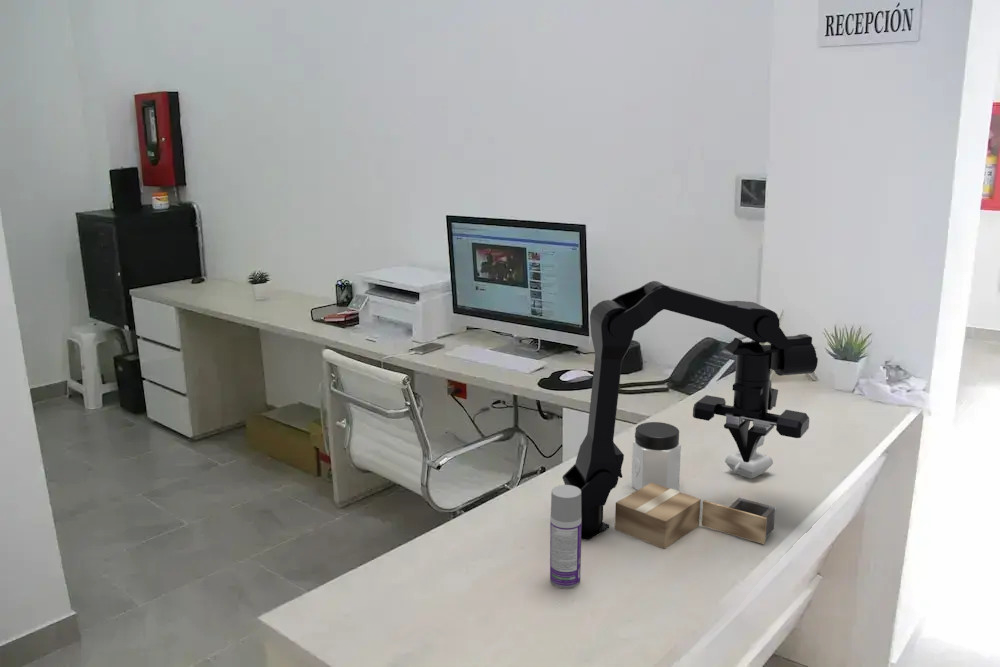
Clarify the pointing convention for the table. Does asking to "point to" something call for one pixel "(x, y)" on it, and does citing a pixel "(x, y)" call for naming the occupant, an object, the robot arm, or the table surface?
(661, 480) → the jar
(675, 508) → the carton
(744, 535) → the flap
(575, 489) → the container
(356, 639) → the table surface
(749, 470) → the stamp
